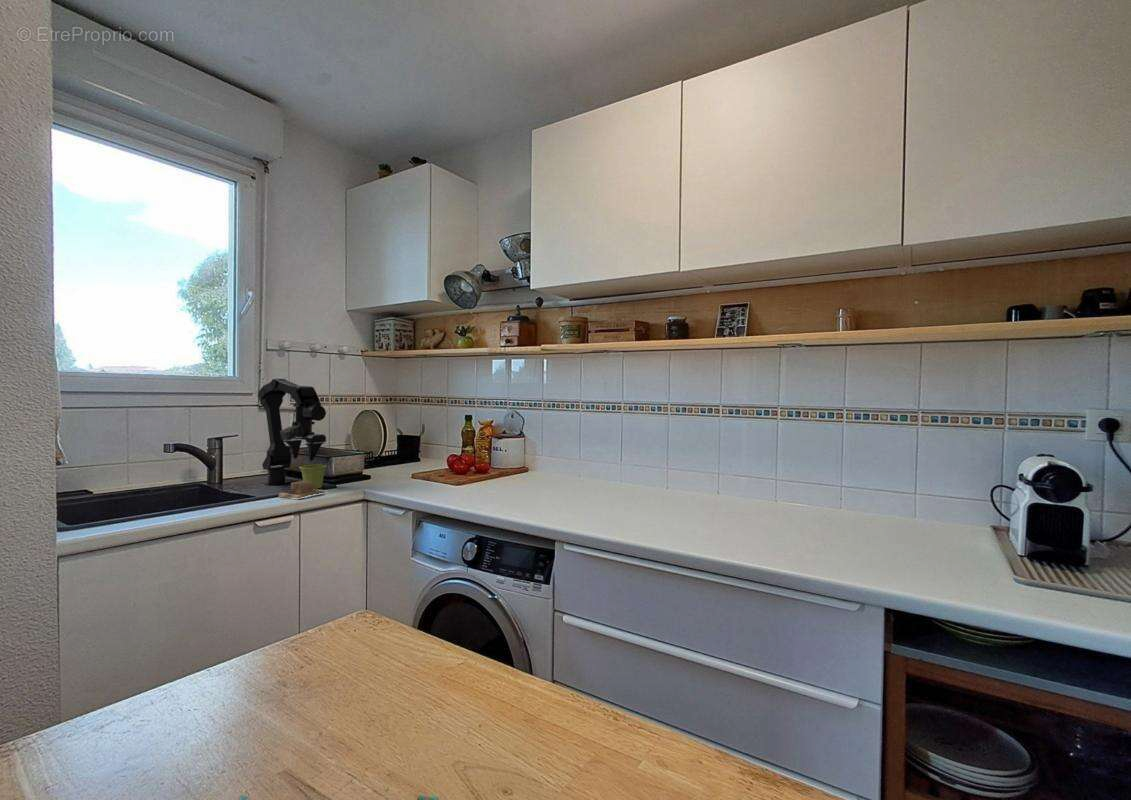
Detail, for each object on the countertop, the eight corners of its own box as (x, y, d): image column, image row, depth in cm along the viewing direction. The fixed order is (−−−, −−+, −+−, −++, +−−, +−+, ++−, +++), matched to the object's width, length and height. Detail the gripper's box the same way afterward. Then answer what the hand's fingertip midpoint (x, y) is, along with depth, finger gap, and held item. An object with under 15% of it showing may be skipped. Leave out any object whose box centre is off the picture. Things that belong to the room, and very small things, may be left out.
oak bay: (278, 497, 181) (278, 493, 181) (306, 491, 191) (306, 487, 191) (297, 500, 177) (297, 495, 177) (324, 494, 187) (324, 490, 187)
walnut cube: (290, 496, 183) (290, 482, 183) (303, 494, 187) (303, 480, 187) (300, 498, 181) (300, 484, 181) (312, 495, 185) (312, 481, 185)
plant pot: (300, 487, 201) (300, 465, 200) (326, 485, 204) (326, 463, 204) (298, 491, 192) (298, 468, 192) (326, 489, 196) (326, 467, 196)
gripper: (268, 418, 193) (267, 459, 193) (300, 421, 184) (300, 464, 185) (295, 417, 203) (294, 456, 203) (327, 420, 194) (326, 460, 195)
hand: (303, 459), depth 196 cm, fingers open, 9 cm apart
